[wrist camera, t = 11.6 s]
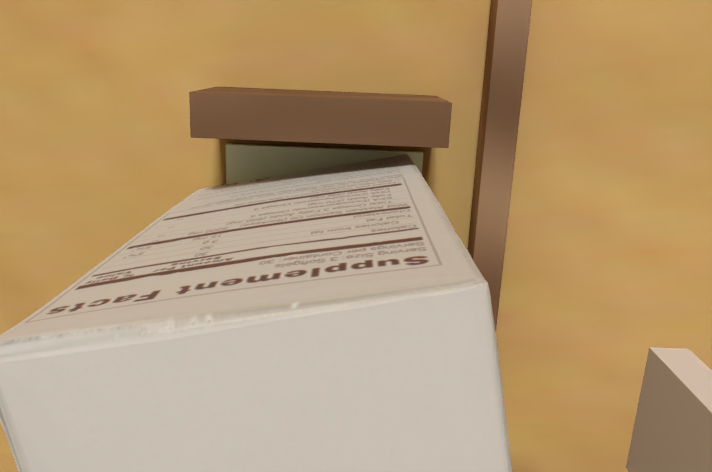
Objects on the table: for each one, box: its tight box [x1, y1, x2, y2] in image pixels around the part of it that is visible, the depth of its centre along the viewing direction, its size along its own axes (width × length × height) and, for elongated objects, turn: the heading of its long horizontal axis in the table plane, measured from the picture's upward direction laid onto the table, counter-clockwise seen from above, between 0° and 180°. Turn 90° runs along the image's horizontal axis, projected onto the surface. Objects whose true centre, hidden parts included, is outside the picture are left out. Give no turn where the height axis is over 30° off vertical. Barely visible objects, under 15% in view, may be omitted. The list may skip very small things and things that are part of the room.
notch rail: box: [189, 0, 532, 332], centre depth 20 cm, size 32×10×4 cm, turn 178°
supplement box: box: [0, 154, 512, 472], centre depth 15 cm, size 7×7×13 cm
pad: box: [226, 144, 423, 184], centre depth 21 cm, size 8×6×1 cm
